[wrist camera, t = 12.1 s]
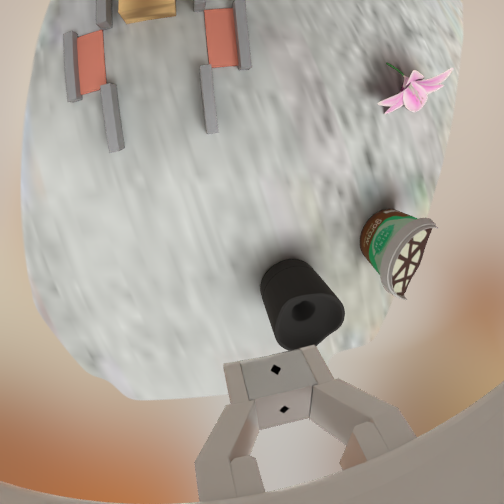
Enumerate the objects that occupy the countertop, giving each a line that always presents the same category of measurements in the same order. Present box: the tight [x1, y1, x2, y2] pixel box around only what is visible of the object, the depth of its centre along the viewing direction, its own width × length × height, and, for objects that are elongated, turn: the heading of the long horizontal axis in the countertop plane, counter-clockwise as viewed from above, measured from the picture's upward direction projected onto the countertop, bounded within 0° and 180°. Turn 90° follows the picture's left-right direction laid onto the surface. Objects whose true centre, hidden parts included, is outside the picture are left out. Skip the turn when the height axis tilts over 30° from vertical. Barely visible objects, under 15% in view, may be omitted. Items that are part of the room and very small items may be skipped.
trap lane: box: [63, 0, 252, 153], centre depth 25 cm, size 22×26×5 cm
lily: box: [378, 63, 453, 114], centre depth 32 cm, size 12×12×10 cm
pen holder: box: [261, 260, 345, 351], centre depth 41 cm, size 9×9×10 cm
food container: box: [360, 209, 438, 300], centre depth 40 cm, size 12×6×10 cm, turn 166°
